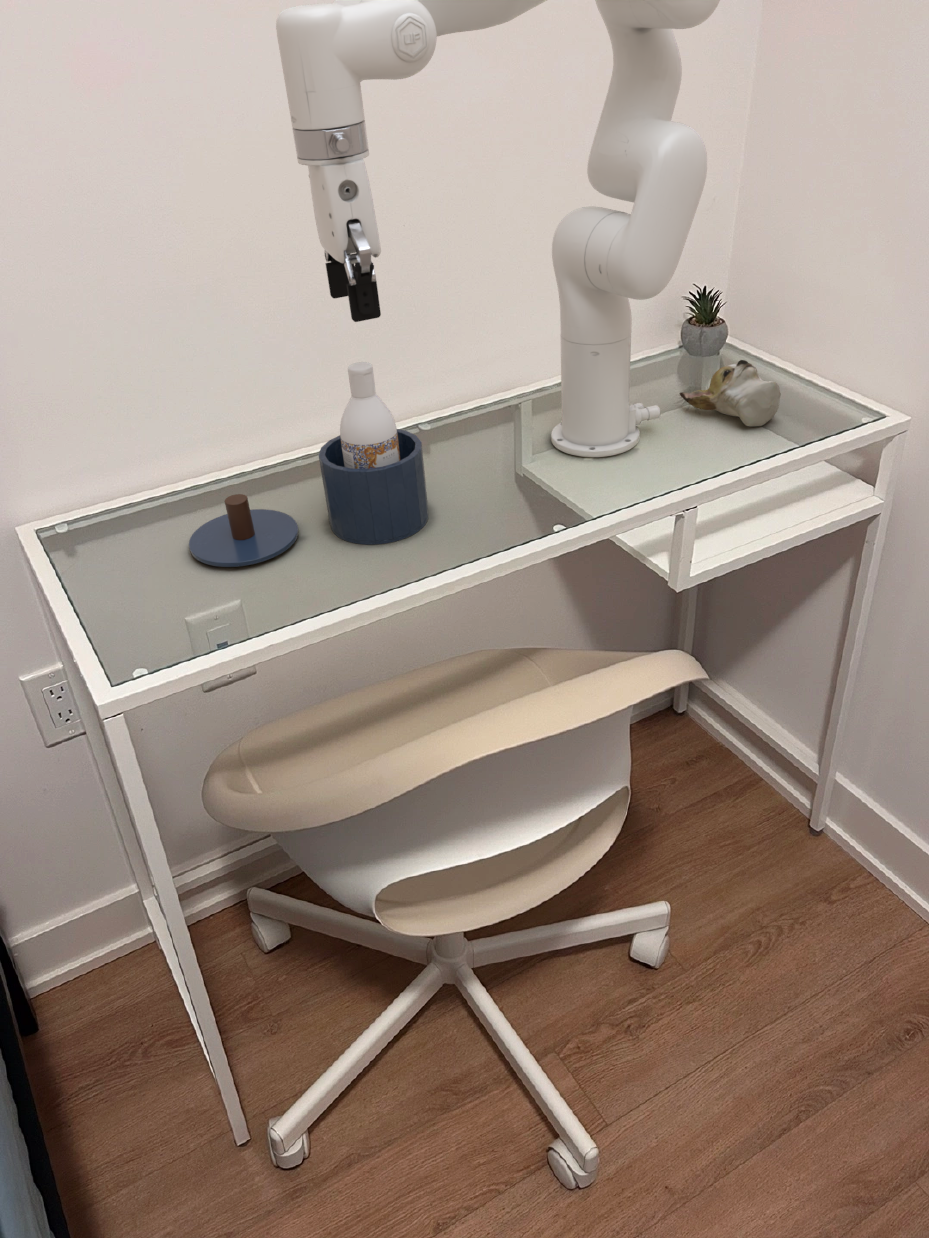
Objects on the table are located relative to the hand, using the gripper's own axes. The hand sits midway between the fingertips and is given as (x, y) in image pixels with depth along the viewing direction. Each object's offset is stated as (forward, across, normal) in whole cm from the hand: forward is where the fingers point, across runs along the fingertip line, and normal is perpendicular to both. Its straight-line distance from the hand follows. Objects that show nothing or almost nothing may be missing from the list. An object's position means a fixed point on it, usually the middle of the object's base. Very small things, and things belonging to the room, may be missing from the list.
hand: (355, 307), depth 114 cm
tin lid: (+26, +2, +18) cm, 32 cm away
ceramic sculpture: (+29, +7, -56) cm, 63 cm away
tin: (+27, 0, +1) cm, 27 cm away
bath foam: (+27, 0, +1) cm, 27 cm away
